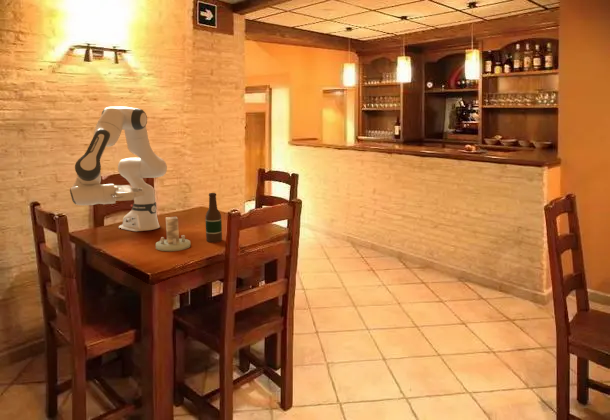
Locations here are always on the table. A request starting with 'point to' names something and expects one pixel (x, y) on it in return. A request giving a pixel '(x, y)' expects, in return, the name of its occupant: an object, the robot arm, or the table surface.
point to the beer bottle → (213, 221)
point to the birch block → (172, 229)
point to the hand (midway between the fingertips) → (143, 191)
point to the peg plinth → (172, 248)
